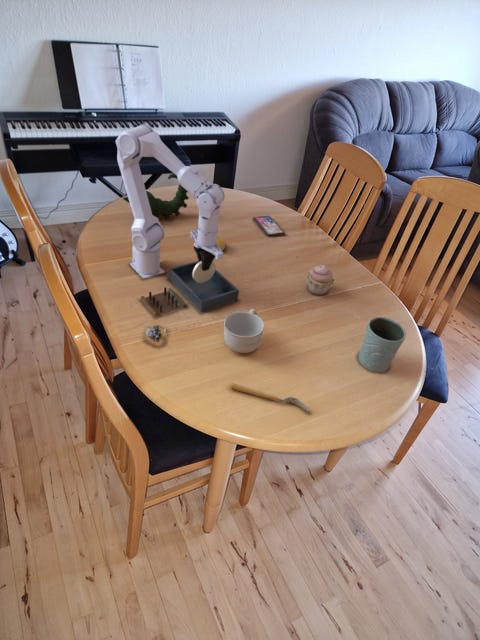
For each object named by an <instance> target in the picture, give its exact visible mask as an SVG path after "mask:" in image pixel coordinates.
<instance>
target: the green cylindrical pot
mask: <svg viewBox="0 0 480 640" xmlns="http://www.w3.org/2000/svg"><path fill="white" fill-rule="evenodd" d="M406 337H407V331H406V329H405V327H404V326H402V324H400V323H399V322H397V321H395V320H394V319H391V318H388V317H384V316H382V317H381V316H380V317H379V316H378V317H373V318H371V319H370V320H369V321H368V323H367V326H366V330H365V334H364V336H363V340H362V343H361V346H360V350H359V353H358V361H359V364H360V365H361V366H362V367H364V368H365V369H366V370H368V371H370V372H373V373H383V372H385V371H387V370H388V369H389V367H390V366H391V363H392V361H393V360H394V358H395V356H396V354H397V353H398V351H399V349H400V348H401V346H402V345H403V343H404V341H405V339H406Z"/></svg>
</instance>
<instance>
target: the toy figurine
mask: <svg viewBox="0 0 480 640" xmlns="http://www.w3.org/2000/svg"><path fill="white" fill-rule="evenodd" d="M167 179H168V180H170V179H176V180H177V181H178V178H177V175H175V174H174V173H173V172H171V174H169V175H168V177H167ZM146 193H147V197H148V200H149V204H150V208H151V212H152V215H153V216H155V217H157V218H158V219H159V220H160V219H161V216H162V217H164V218H165V220H168V221H169V220H171V216H172V215H173V214H174V216H176V217H180V216H181V212H180V209H181V208H187V207H188V203H186V202H185V200H186V201H188V200H189V199H190V197H189V196H188V193H189V192H188V191H187V190H186V189H184V188H183V187H182V186H181V185H180V184H178V186H177V191H176V193H175V196H174V197H173V198H172V199H171V200H165V199H164V200H163V199H161V198H158V197H155V196H154V194H153V193H151V192H150V191H148V190H146ZM122 199H123V200H124V201H125V202H127V203H128V204H130V202H129V198H128V196H125V197H122Z"/></svg>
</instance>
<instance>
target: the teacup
mask: <svg viewBox="0 0 480 640" xmlns="http://www.w3.org/2000/svg"><path fill="white" fill-rule="evenodd" d="M264 330H265V322H264V320H263V319H262V318H261V317H260V316H259V315H257V310H256V309H254V308H251V309H250V310H249V311H235V312H232V313H230V314H228V315H227V316H226V317H225V318H224V320H223V340H224V343H225V345H226V346H227V347H228V348H229V350H232V351H234V352H236V353H238V354H239V353H241V354H246V353H251V352H254V351H255V350H257V349H258V348H259V347H260V345H261V343H262V340H263V334H264Z"/></svg>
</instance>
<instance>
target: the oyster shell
mask: <svg viewBox="0 0 480 640" xmlns="http://www.w3.org/2000/svg"><path fill="white" fill-rule="evenodd" d="M162 329H163V332H164V333H165V335H168V333H167V332H168V330H167V328H166V327H162V326H161V325H158V324H157V325H153V326H152V327H151V326H147V327H146V329H145V332H144V335H145V336H146V337H148V338H150V340H152V342H156V343H158V342H159V339H160V338H161V336H162V334H161V331H162Z"/></svg>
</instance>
